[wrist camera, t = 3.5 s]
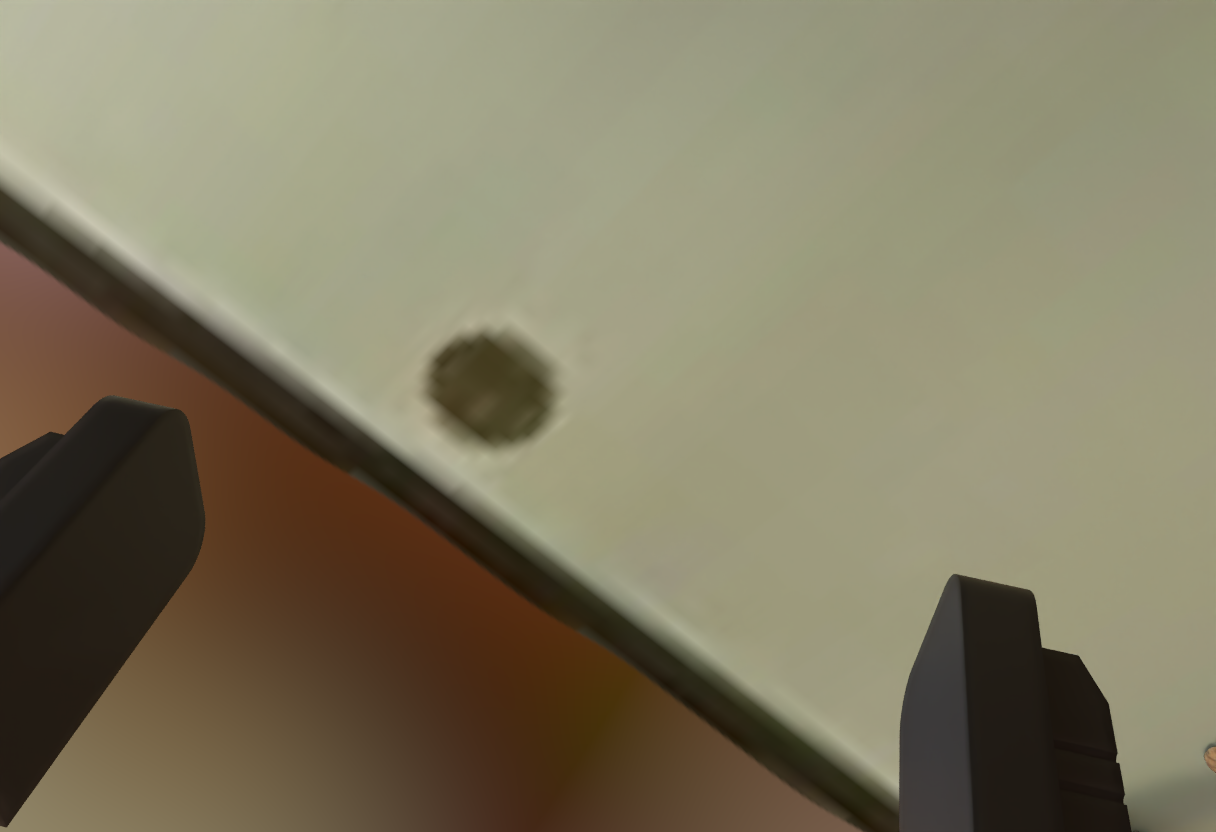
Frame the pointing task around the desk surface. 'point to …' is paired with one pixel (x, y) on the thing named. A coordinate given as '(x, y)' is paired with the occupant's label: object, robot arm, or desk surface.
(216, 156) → the desk surface
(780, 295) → the desk surface
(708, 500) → the desk surface
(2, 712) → the robot arm
